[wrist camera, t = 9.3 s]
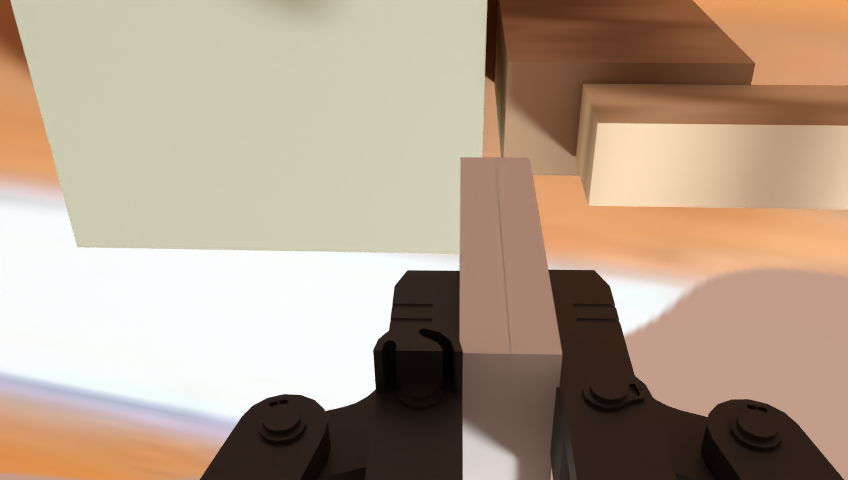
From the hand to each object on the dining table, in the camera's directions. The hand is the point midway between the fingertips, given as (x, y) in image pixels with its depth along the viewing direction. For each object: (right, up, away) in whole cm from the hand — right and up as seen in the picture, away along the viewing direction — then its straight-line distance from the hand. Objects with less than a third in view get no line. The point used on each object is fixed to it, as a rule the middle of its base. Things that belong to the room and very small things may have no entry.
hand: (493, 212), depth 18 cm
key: (+8, +3, +6) cm, 10 cm away
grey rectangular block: (-6, +6, +12) cm, 15 cm away
